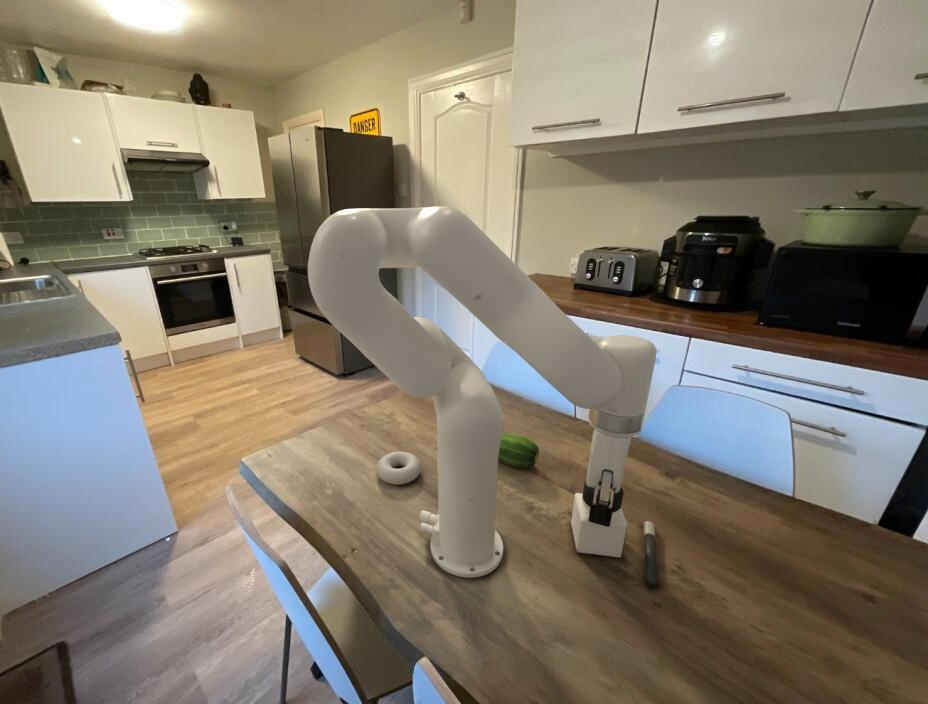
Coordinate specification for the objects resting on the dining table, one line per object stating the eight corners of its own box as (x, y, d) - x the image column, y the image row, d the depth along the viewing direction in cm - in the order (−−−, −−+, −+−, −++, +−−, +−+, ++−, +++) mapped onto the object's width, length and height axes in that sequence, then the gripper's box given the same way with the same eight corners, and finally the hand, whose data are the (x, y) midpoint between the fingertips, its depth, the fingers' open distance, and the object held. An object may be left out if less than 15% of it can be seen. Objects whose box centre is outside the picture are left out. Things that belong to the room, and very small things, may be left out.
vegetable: (534, 442, 86) (457, 415, 98) (526, 475, 86) (449, 444, 98) (546, 442, 92) (472, 417, 104) (538, 473, 92) (465, 444, 104)
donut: (388, 457, 98) (369, 482, 89) (388, 445, 96) (367, 468, 88) (427, 466, 94) (411, 492, 85) (427, 453, 93) (410, 478, 84)
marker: (652, 590, 63) (661, 586, 62) (643, 582, 63) (651, 578, 62) (649, 530, 74) (656, 525, 73) (641, 523, 74) (648, 519, 73)
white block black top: (621, 558, 68) (633, 501, 63) (576, 553, 69) (585, 496, 65) (611, 527, 74) (621, 473, 70) (570, 522, 76) (577, 469, 71)
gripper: (593, 389, 71) (582, 473, 78) (584, 439, 57) (570, 536, 63) (642, 396, 68) (625, 483, 75) (644, 450, 54) (624, 551, 60)
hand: (600, 507), depth 69 cm, fingers closed on white block black top, 7 cm apart
